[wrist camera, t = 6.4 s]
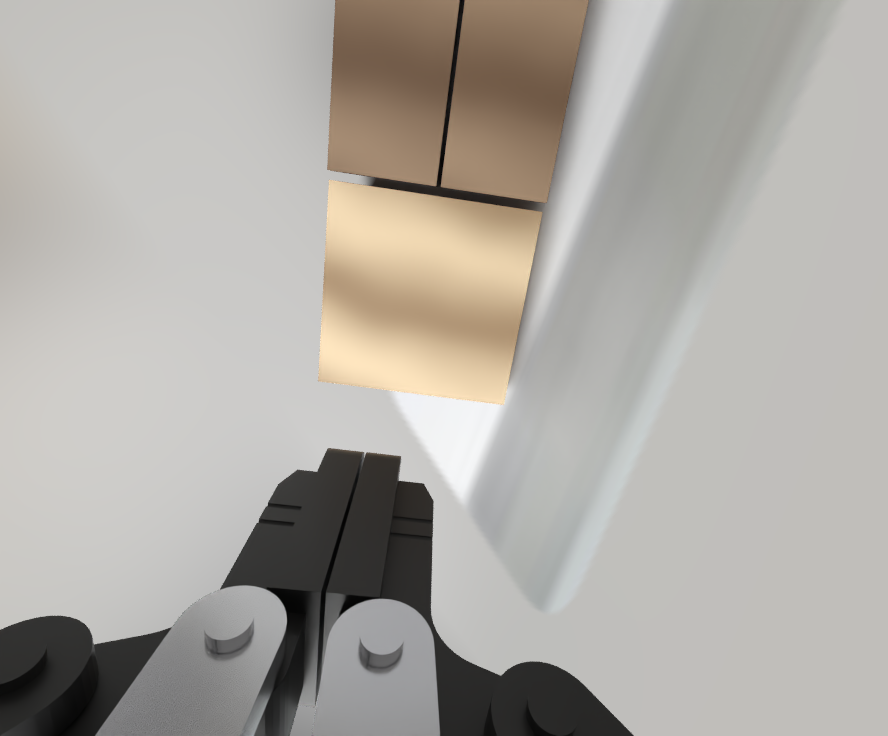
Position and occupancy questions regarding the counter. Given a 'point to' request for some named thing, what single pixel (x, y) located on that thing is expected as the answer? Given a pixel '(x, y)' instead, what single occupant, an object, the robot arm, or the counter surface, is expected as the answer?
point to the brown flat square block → (474, 93)
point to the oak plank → (423, 292)
